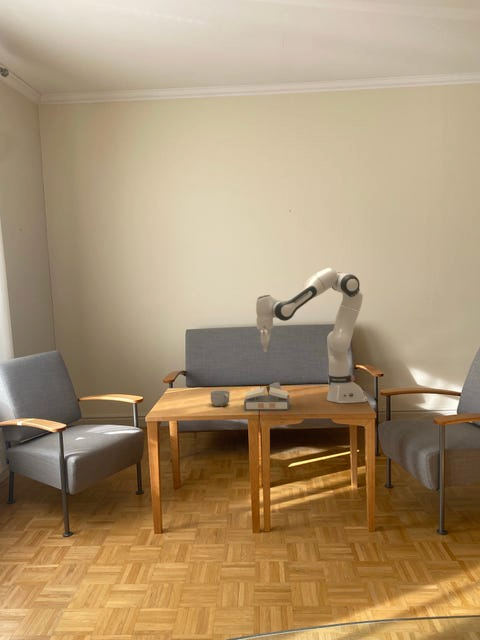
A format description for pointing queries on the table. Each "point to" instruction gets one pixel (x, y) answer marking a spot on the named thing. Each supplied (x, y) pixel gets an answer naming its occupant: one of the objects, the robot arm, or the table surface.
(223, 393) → the teacup
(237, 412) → the table surface
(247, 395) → the block
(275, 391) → the rocker
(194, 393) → the table surface
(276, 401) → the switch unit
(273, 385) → the electrical switch
